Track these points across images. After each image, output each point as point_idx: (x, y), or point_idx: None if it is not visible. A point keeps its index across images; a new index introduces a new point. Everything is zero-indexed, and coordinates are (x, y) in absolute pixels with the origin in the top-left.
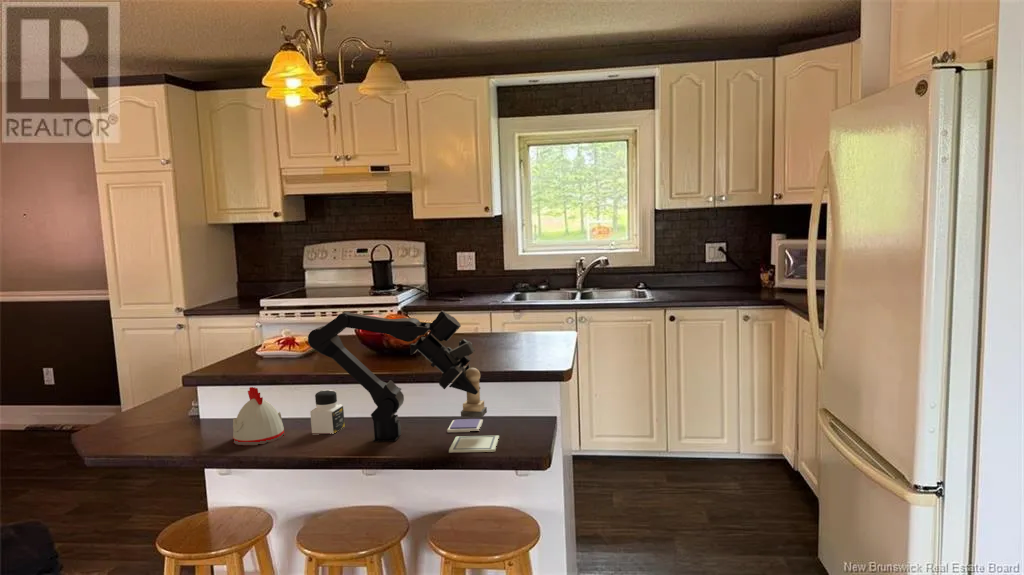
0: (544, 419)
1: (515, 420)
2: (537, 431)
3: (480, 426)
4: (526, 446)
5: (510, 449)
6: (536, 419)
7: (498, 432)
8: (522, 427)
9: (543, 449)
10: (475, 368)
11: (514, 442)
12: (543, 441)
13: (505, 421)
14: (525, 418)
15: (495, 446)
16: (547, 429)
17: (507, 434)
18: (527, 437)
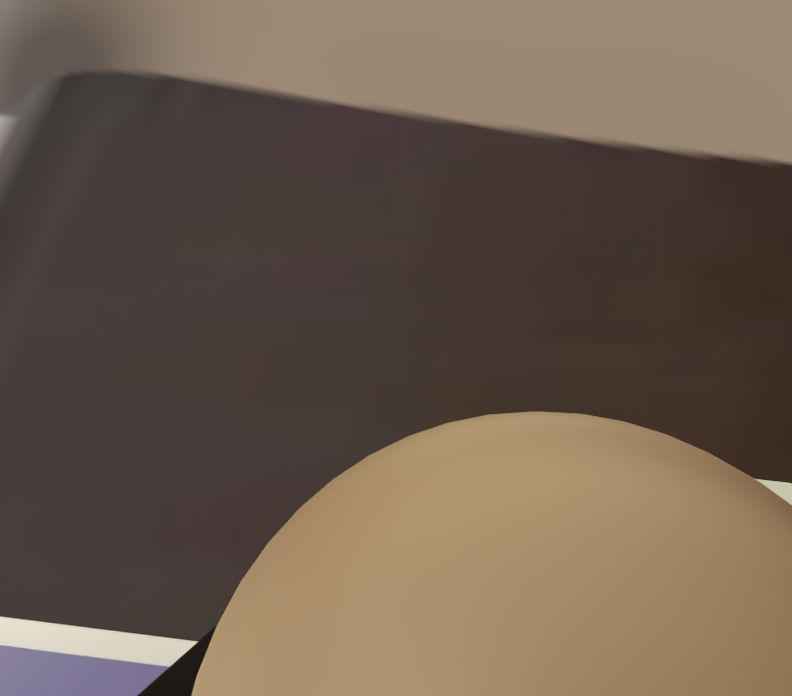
0: (108, 114)
1: (48, 312)
2: (384, 175)
3: (149, 635)
4: (711, 263)
5: (779, 373)
6: (86, 163)
7: (345, 460)
8: (259, 268)
9: (771, 167)
10: (643, 576)
11: (619, 339)
12: (609, 155)
13: (43, 394)
14: (24, 235)
15: (779, 483)
16: (352, 114)
17: (414, 386)
18: (511, 246)
